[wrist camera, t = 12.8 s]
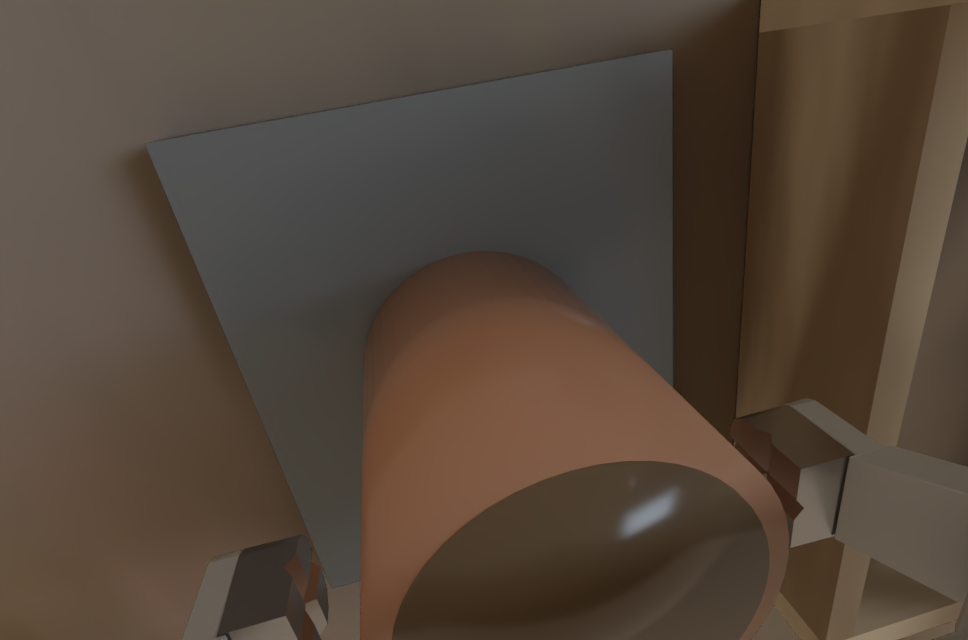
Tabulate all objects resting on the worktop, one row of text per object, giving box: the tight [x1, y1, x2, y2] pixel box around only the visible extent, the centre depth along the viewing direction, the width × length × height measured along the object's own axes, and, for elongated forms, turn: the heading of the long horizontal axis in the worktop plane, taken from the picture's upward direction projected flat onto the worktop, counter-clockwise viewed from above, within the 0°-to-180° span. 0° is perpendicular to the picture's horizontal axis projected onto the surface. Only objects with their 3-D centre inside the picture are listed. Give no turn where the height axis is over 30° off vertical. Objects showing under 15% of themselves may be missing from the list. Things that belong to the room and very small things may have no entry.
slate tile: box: [145, 49, 673, 589], centre depth 15 cm, size 12×14×1 cm
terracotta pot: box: [360, 251, 789, 640], centre depth 11 cm, size 6×6×8 cm
